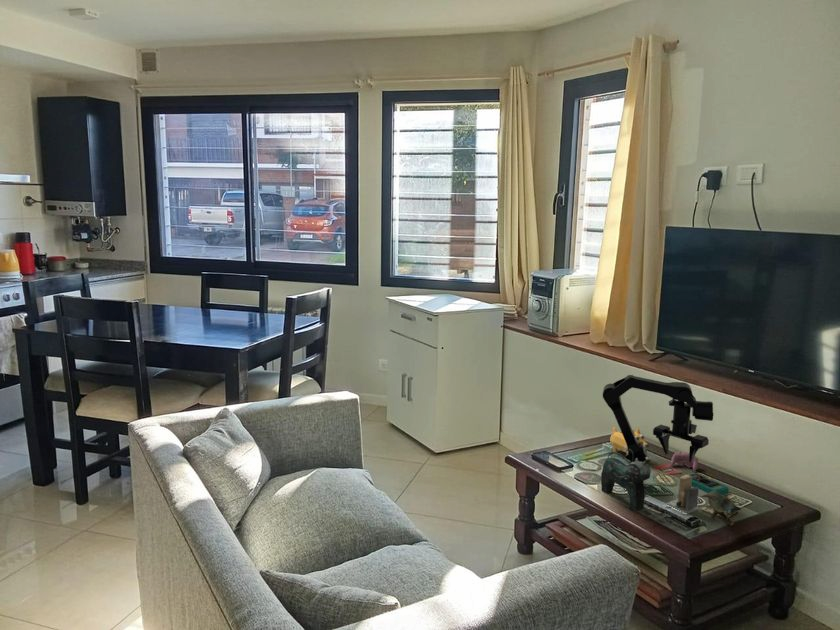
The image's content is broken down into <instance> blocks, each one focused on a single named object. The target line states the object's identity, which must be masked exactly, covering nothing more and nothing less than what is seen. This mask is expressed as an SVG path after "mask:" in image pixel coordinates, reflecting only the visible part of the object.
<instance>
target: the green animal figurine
mask: <svg viewBox="0 0 840 630" xmlns="http://www.w3.org/2000/svg"><path fill="white" fill-rule="evenodd" d="M628 450H629V451H631V452H632V450H631V449H628ZM628 450H626V452H627V451H628ZM626 452H625V453H626ZM613 454H617V455H615V456H611V455H613ZM632 454H633V452H632ZM610 456H611V457H610ZM624 457H625V456H623V455H622V454H621V453H619V452H618V451H617V452H613V451H611V452H610V453H609V454H608V456H607V459H606V460H604V462H603V466H602V469H601V473H600V477H601V478H600V483H601V485H600V486H601V492H603V493H604V494H606V495H609V494H612V493H613V489H614V486H615V484H617V485H618V486H619V487H620V488H623V489H625V490H626V492H627V494H628V497H629V508H630V509H633V510H634V511H636V512H637V511H638V512H639V511H642V510H644V509H645V507H644V506H645V499H646V498H645V497H646V495H645V482H644V481H646V480H648V479H650V477H651V473H652V472H651V468H650V467H649V465H648V462H647V460H646V461H644V462H639V461H638V459H637V458H636V459H635V461H634V462H633V459H632V461H629V460H628V459H626V458H624Z"/></svg>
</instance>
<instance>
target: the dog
mask: <svg viewBox="0 0 840 630" xmlns="http://www.w3.org/2000/svg"><path fill="white" fill-rule="evenodd" d="M632 430H633V433H634V435H635V437H636V439H637V441H638V442H639V443H640V442H642V441H643V445H644V448H645V449H646V450H647V449H648V448H649V447H650V444H648V442H646V437H645V435H643V434H642V433H641V431H640V428H636V430H635V431H634V429H632ZM612 432H613V433H612V434H611V436H610V438H609V440H610V444H611V447H612V452H617V453H618V450H619V451H620V452H624V453H626V455H628V451H627V452H626V450H628V448H627V444H626V441H625V439H624V437H623V434H622V432H621V431H617V428H616V427H615V426H614V427H612Z"/></svg>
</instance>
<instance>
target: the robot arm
mask: <svg viewBox="0 0 840 630" xmlns="http://www.w3.org/2000/svg"><path fill="white" fill-rule="evenodd" d="M631 389H637V390H641V391H642V390H643V391H648V392H652V393H656V394H661V395H666V396H667V397H669V398H672V399H671V400H668V405H669V406H670V407H673V414H672V415H673V416H672V419H671V421H670V423H671V424H672V430H671V427H670V426H668V425H664V424H659V425H657V426H655V427H654V428H653V429H652V435H653V436H655V438H656V439H658V441H659V442H660V445H661V447H662V449H663V452H664V454H665V456H666V455H669V445H670V444H669V443H670V437H674V438H677V439H679V440H680V439H681V440H684V441H688V442H690V445H689V450H688V451H689V452H688V453H689V461H690V462H692V460H693V458H694V456H695V455H696V454H697V452H698V451H699V450H700V449H702V448H705V447H707V446H708V445H709V443H710V442H709V441H710V440H709V439H708V437H707V436H705V435H701V434H696V431H697V426H698V425H697V424H694V423H693V421H692V419H691V416H692V417H693V418H694V419H695V420H697V421H698V420H699V421H710V422H712V421H713V420H714V407H713V405H714V404H713V401H709V400H708V401H704V400H703V401H701V400H696V399H697V398H696V397H695V396H694V394H693V390H692V388H691V386H690V384H689V383H687V382H681V381H680V382H679V381H673V382H671V381H670V382H665V381H659V380H657V379H656V380H655V379H649V378H645V377H640V376H636V375H633V374H628V375H626V376H625V377H624V378H621V379H618V380H616V381H615V382H613V383H608V384H606V385H604V387H603V389H602V390H603V391H602V399H603V400H604V402H605V404H606V405H607V406H608V407H609V409H610V410H611V411H612V412H613V415H614V417H615V418H614V419H615V420H616V422H617V425H618V427H619V429H620V433H622V434H623V437H624V439H625V441H626V444H627V448H628V449H631V450H632V452H633V454H632V452H631V451H629V450H628V455H627V454H626V455H625V456H623V457H624V458H626V459H628V460H629V461H632V459H633V462H634V461H635V459H636V458H637V459H638V461H639V462H644V461H646V462H647V457H648V452H647V451H648V450H647V448H646V449H645V448H644V445H643V441H642V442H640V443H639V442H638V441H637V439H636V437H635V435H634V433H633V430H634V429H632V426H631V423H630V421H629V419H628V416H627V414H626V412H625V409H624V407H623V404H622V398H621V397H622V395H624V394H625V393H627V392H628V391H630V390H631ZM692 434H696V435H695V436H692Z"/></svg>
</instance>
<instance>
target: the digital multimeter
mask: <svg viewBox="0 0 840 630" xmlns="http://www.w3.org/2000/svg"><path fill="white" fill-rule="evenodd" d="M688 475H689V476H692V486H691V487H693V488H694V487H698V488H699V489H698V490H701V491H703V492H705V493H706V494H708V493H710V492H712V491H716V492H718V493H720V494H721V495H722V496H724V495H726V494H728V493H729V487H728V486H727V485H724V484H722V483H720V482H718V481H715V480H713V479H710V478H708V477H706V476H704V475H701V473H700V474H699V473H697V472H696V473H690V474H688Z"/></svg>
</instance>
